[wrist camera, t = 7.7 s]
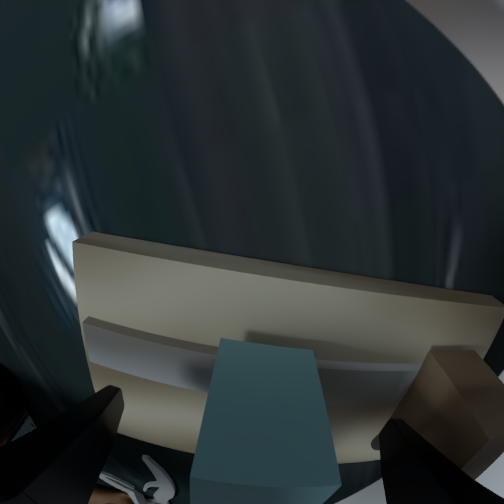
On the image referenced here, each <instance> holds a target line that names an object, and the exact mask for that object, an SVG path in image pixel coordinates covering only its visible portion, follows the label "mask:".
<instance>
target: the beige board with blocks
mask: <svg viewBox="0 0 504 504" xmlns="http://www.w3.org/2000/svg"><path fill="white" fill-rule="evenodd" d="M72 243H73V263H74V276H75V287H76V296H77V304H78V311H79V318H80V325H81V331H82V336H83V342H84V347H85V352H86V357H87V361H88V366H89V370H90V374H91V378H92V382H93V386H94V390H95V393H96V392H98V391H99V390H101V389H102V388H104V387H106V386H107V385H113V386H117V387H119V388H121V390H122V394H123V399H124V411H123V414H122V417H121V420H120V423H119V427H118V430H117V433H120V434H123V435H126V436H129V437H132V438H135V439H139V440H142V441H145V442H149V443H153V444H156V445H160V446H164V447H168V448H172V449H176V450H181V451H185V452H190V453H195V450H196V446H197V441H198V437H199V432H200V427H201V423H202V418H203V414H204V409H205V405H206V400H207V396H208V391H209V387H210V382H211V378H212V373H213V369H214V365H215V360H216V356H217V351H218V347H219V343H220V338H225V339H231V340H238V341H244V342H251V343H258V344H265V345H272V346H280V347H289V348H297V349H307V350H313V353H314V357H315V361H316V366H317V370H318V374H319V378H320V383H321V387H322V392H323V396H324V401H325V405H326V410H327V414H328V419H329V424H330V428H331V433H332V438H333V443H334V448H335V453H336V458H337V463H352V462H363V461H372V460H380V449H379V433H380V431H381V429H382V428H383V427H384V425H385V424H386V422H387V421H388V420H389V419H390V418H401V419H402V420H404V421H405V422H406V423H407V424H408V425H409V426H411V427H412V428H413V429H414V430H415V431H416V432H418V433H419V434H420V435H421V436H422V437H423V438H424V439H426V440H427V441H428V442H429V443H430V444H432V445H433V446H434V447H435V448H436V449H437V450H439V451H440V452H441V453H442V454H443V455H445V456H446V457H447V458H448V459H449V460H451V461H452V462H453V463H454V464H455V465H457V466H458V467H459V468H460V469H461V470H463V471H464V472H465V473H466V474H468V475H469V476H470V477H471V478H473V479H474V480H475V479H476V478H477V477H478V476H479V475H481V474H482V473H483V472H484V471H485V470H486V469H487V468H488V467H489V466H490V465H491V464H492V463H493V462H494V461H495V460H496V459H497V458H498V457H499V456H500V455H501V454H502V453H503V452H504V384H503V383H502V381H501V380H500V379H499V378H498V377H497V375H496V374H495V373H494V372H493V371H492V370H491V368H490V367H489V366H488V365H487V364H486V363H485V362H484V360H483V359H484V357H485V355H486V353H487V351H488V349H489V347H490V346H491V344H492V342H493V340H494V338H495V336H496V334H497V331H498V329H499V327H500V325H501V323H502V321H503V318H504V305H503V304H502V303H501V302H500V301H498V300H497V299H496V298H494V297H493V296H492V295H485V294H478V293H472V292H465V291H458V290H451V289H445V288H438V287H431V286H425V285H418V284H412V283H405V282H399V281H392V280H386V279H379V278H373V277H366V276H360V275H354V274H347V273H341V272H334V271H328V270H322V269H315V268H309V267H303V266H297V265H290V264H284V263H278V262H272V261H266V260H259V259H253V258H247V257H241V256H235V255H229V254H223V253H217V252H211V251H205V250H198V249H192V248H186V247H180V246H174V245H168V244H163V243H157V242H151V241H145V240H139V239H133V238H127V237H121V236H115V235H110V234H104V233H98V232H91V233H89V234H87V235H85V236H83V237H81V238H79V239H77V240H75V241H73V242H72Z"/></svg>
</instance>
